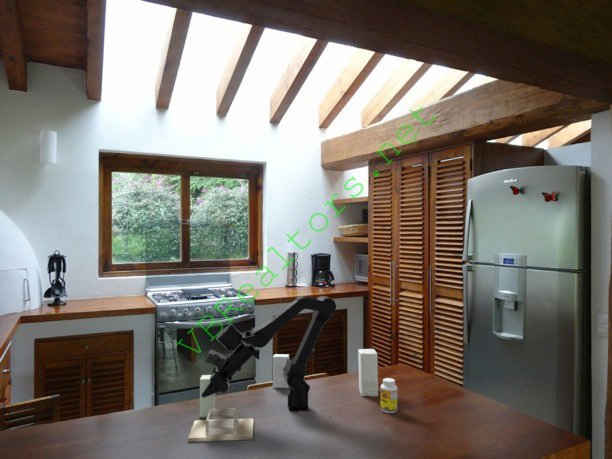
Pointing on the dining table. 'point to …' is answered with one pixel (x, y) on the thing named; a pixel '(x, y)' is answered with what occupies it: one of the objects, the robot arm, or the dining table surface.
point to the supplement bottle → (389, 396)
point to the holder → (221, 426)
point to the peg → (207, 401)
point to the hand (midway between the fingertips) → (203, 393)
